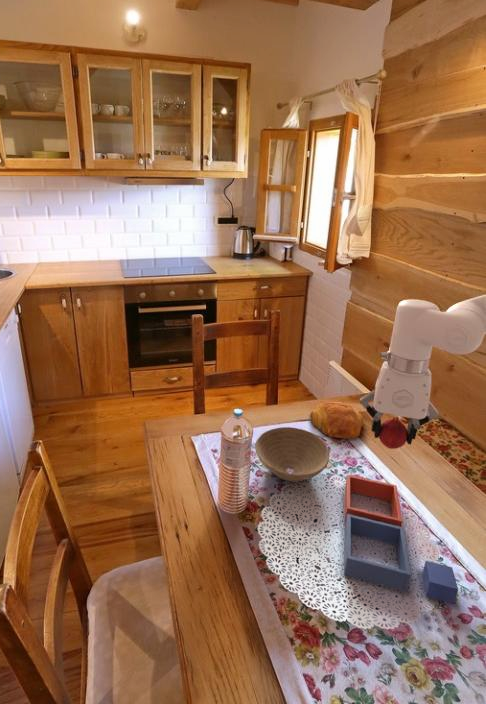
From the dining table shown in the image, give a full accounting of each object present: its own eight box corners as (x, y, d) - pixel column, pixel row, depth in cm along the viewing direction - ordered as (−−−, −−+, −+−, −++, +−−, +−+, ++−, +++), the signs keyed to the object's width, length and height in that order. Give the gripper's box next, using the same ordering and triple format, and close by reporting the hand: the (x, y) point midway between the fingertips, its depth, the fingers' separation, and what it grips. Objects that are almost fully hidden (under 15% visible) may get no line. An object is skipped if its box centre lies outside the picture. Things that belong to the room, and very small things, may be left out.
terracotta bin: (392, 502, 95) (396, 485, 93) (398, 540, 85) (402, 521, 84) (344, 491, 98) (347, 474, 96) (343, 526, 88) (347, 508, 86)
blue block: (446, 584, 76) (452, 567, 75) (452, 607, 72) (458, 589, 71) (420, 577, 77) (425, 560, 76) (424, 599, 73) (430, 581, 72)
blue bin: (398, 546, 84) (403, 527, 82) (405, 595, 74) (411, 575, 72) (343, 532, 87) (347, 513, 85) (343, 577, 77) (347, 557, 75)
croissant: (309, 417, 131) (308, 395, 129) (359, 417, 129) (359, 394, 126) (313, 444, 118) (312, 420, 115) (369, 444, 115) (369, 419, 113)
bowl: (238, 473, 103) (239, 446, 100) (279, 441, 116) (282, 417, 113) (301, 513, 91) (304, 485, 88) (339, 473, 104) (344, 447, 101)
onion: (408, 457, 85) (416, 425, 83) (381, 456, 85) (387, 423, 83) (397, 440, 91) (404, 409, 88) (372, 439, 91) (377, 408, 88)
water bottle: (232, 490, 97) (237, 398, 89) (253, 506, 93) (261, 411, 84) (211, 504, 93) (214, 410, 84) (233, 522, 88) (238, 424, 80)
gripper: (363, 362, 80) (350, 439, 86) (460, 376, 75) (439, 456, 82) (362, 348, 87) (350, 420, 93) (451, 360, 82) (432, 435, 88)
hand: (392, 436), depth 87 cm, fingers closed on onion, 5 cm apart
